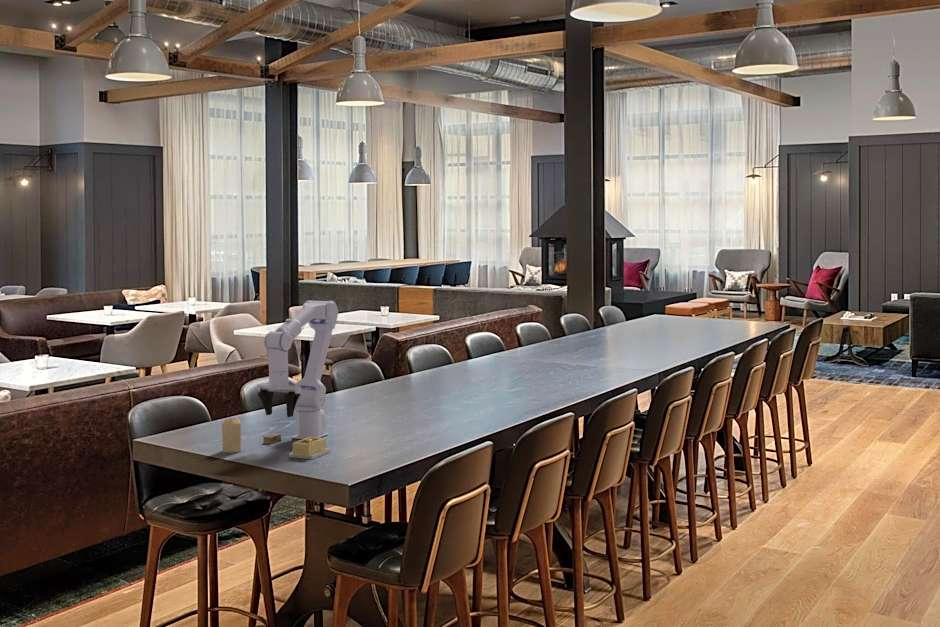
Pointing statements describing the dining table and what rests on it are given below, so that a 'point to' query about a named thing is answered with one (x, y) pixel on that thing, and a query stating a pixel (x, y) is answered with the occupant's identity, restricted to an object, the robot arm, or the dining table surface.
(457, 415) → the dining table surface
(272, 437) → the tan rectangular block
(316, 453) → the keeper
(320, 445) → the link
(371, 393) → the dining table surface
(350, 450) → the dining table surface
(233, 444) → the candle
